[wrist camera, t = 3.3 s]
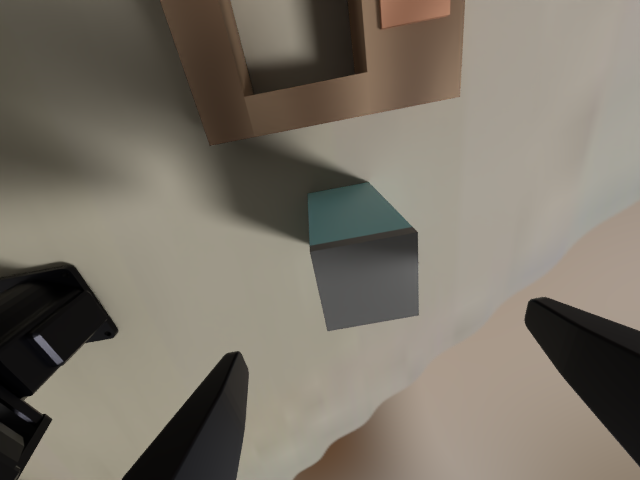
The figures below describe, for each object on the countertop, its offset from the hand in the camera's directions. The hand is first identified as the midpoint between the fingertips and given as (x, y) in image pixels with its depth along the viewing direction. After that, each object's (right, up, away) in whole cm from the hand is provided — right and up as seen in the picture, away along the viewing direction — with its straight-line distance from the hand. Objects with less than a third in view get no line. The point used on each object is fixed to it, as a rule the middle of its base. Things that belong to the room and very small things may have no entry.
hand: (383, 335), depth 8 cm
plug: (0, +5, +9) cm, 11 cm away
